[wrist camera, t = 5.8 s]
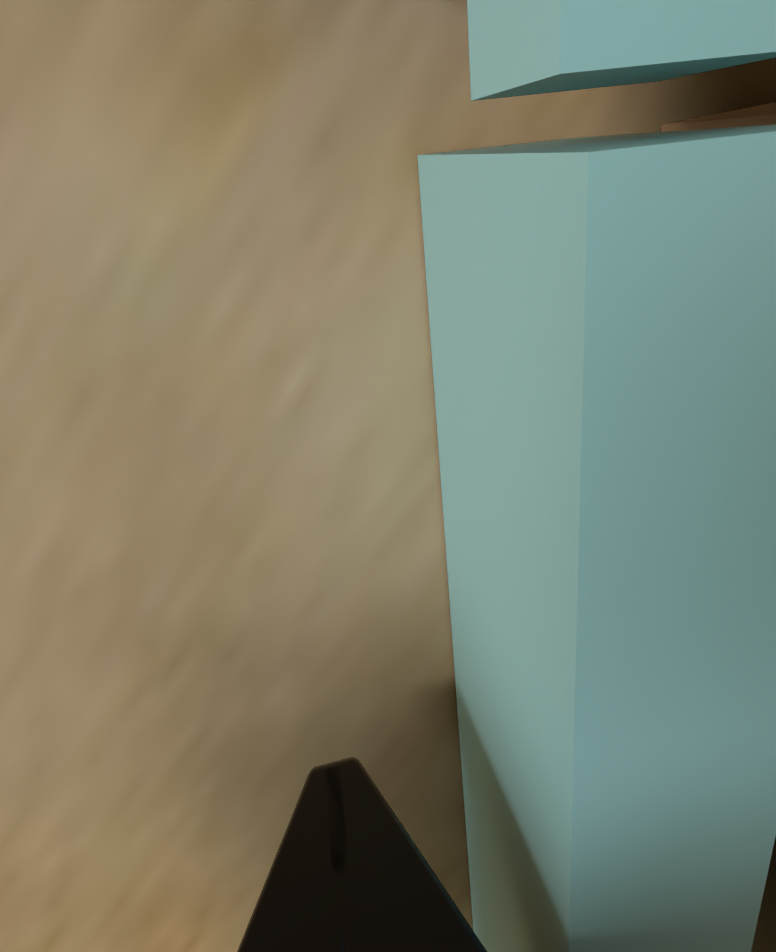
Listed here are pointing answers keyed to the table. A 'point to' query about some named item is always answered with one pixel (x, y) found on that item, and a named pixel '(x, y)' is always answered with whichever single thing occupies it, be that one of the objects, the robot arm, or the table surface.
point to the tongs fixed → (772, 937)
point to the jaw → (610, 488)
